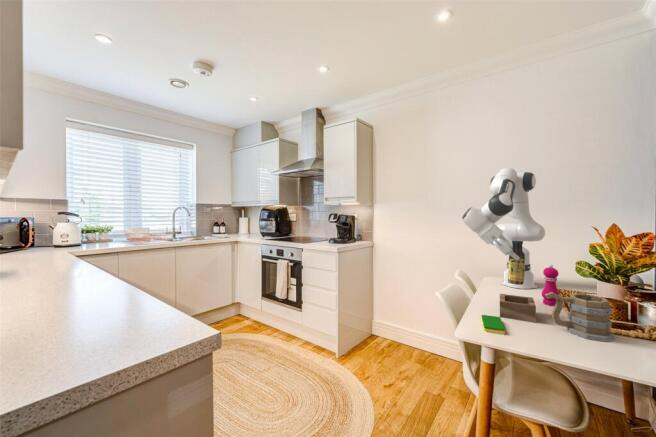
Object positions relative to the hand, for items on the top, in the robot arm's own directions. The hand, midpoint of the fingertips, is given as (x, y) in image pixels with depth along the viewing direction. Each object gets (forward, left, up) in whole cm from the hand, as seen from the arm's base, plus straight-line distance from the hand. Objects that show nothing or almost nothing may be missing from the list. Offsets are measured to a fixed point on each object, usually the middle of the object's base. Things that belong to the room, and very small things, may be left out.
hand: (518, 257), depth 124 cm
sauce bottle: (0, -1, -12) cm, 12 cm away
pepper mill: (-24, +14, -27) cm, 39 cm away
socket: (0, -1, -26) cm, 26 cm away
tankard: (+9, +18, -27) cm, 34 cm away
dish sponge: (+19, -10, -27) cm, 34 cm away
